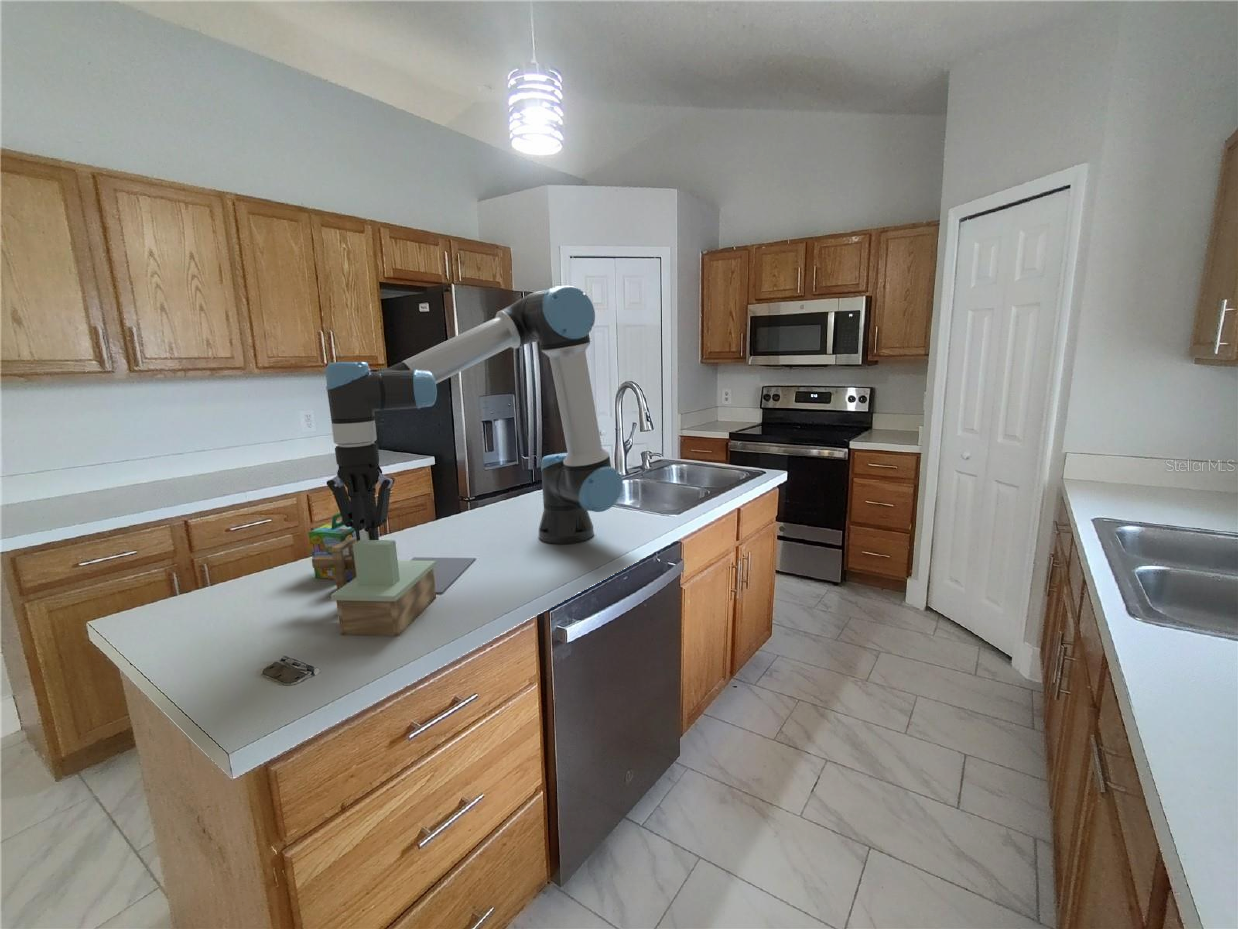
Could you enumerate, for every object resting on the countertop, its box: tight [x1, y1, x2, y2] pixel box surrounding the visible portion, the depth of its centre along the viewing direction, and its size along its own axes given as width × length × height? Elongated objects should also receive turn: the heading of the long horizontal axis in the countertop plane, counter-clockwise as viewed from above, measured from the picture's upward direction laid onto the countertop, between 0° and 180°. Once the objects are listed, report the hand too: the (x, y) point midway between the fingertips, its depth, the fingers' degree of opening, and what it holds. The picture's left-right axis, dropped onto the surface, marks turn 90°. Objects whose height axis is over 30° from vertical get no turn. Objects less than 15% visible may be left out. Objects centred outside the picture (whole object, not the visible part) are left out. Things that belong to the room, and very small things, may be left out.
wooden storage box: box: [331, 538, 437, 637], centre depth 107 cm, size 16×17×13 cm
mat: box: [409, 556, 477, 595], centre depth 127 cm, size 16×20×1 cm
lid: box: [330, 539, 436, 601], centre depth 106 cm, size 17×12×9 cm
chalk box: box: [308, 512, 366, 580], centre depth 129 cm, size 9×9×15 cm
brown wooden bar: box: [311, 549, 355, 569], centre depth 111 cm, size 2×11×4 cm, turn 84°
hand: (370, 559), depth 110 cm, fingers closed
